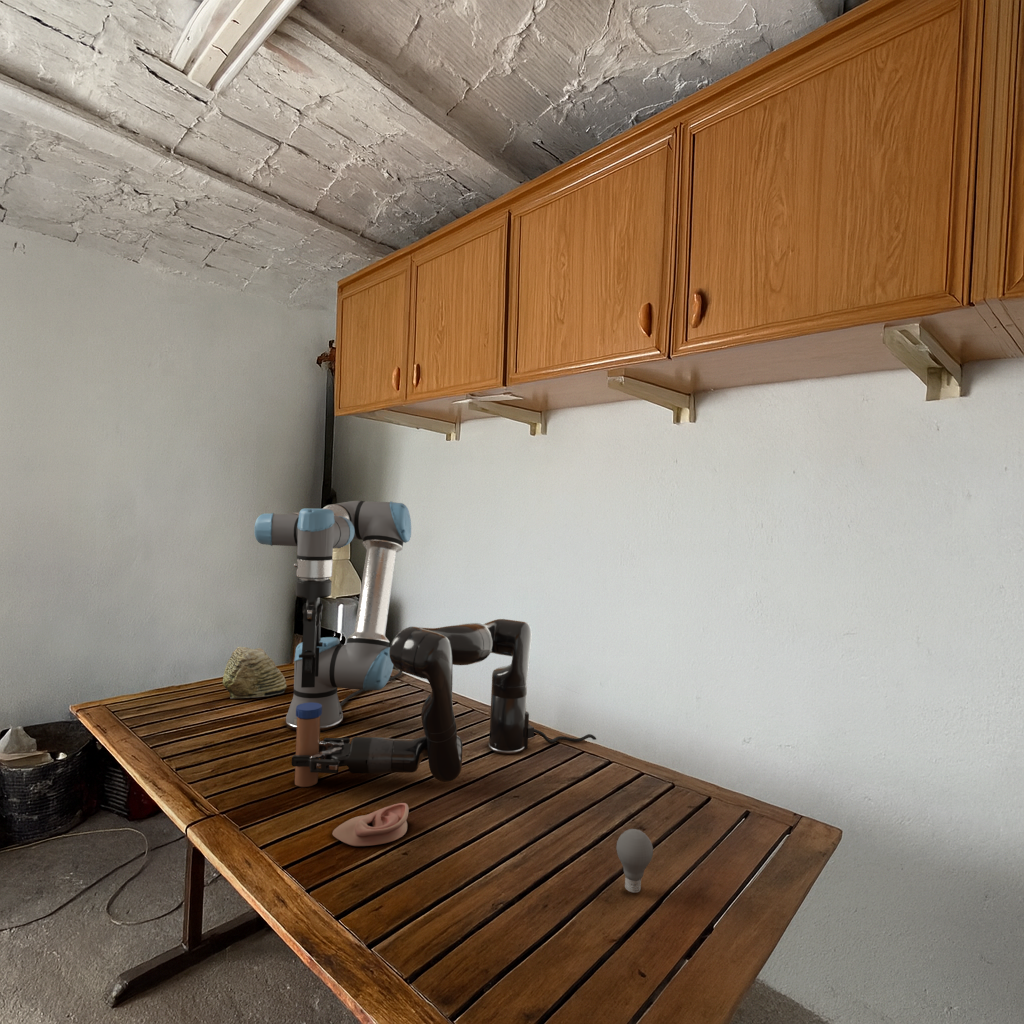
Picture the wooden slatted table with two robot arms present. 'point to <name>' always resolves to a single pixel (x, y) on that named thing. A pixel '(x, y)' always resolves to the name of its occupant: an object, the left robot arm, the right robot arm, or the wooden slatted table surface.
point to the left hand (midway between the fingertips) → (310, 681)
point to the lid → (308, 710)
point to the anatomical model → (374, 826)
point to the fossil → (252, 674)
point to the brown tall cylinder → (307, 749)
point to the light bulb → (634, 857)
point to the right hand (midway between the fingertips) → (296, 754)
